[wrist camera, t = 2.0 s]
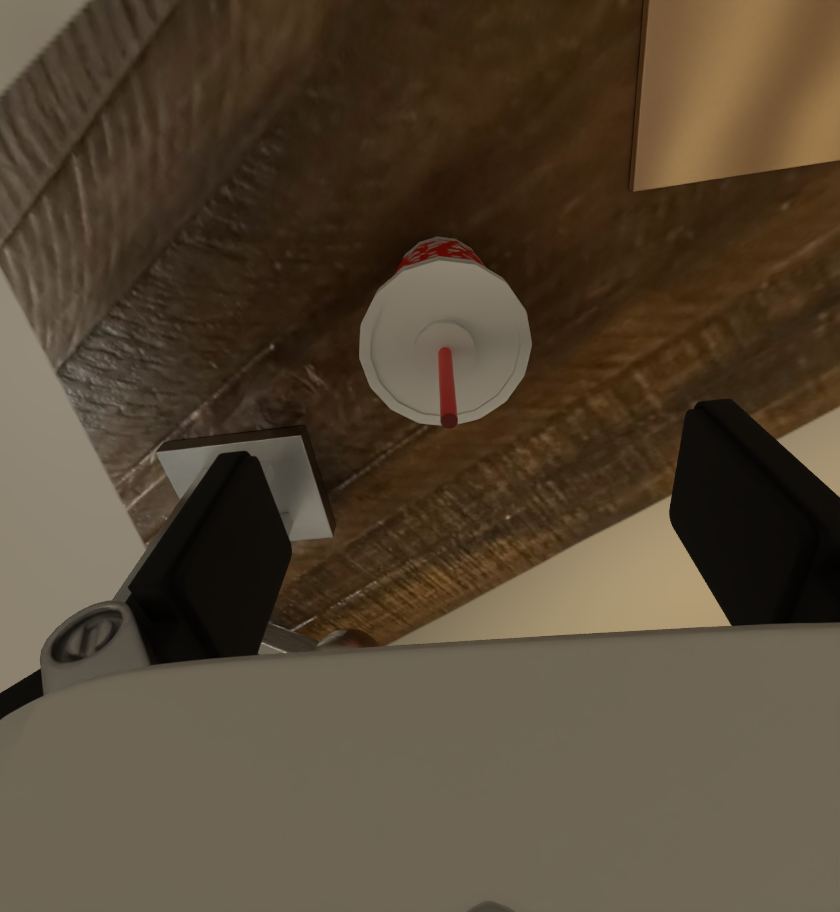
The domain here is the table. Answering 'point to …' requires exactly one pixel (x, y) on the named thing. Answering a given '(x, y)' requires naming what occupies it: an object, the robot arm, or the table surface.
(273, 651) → the grey lever handle
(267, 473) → the faucet base
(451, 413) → the beverage cup
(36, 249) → the table surface
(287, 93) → the table surface
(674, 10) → the drip mat
